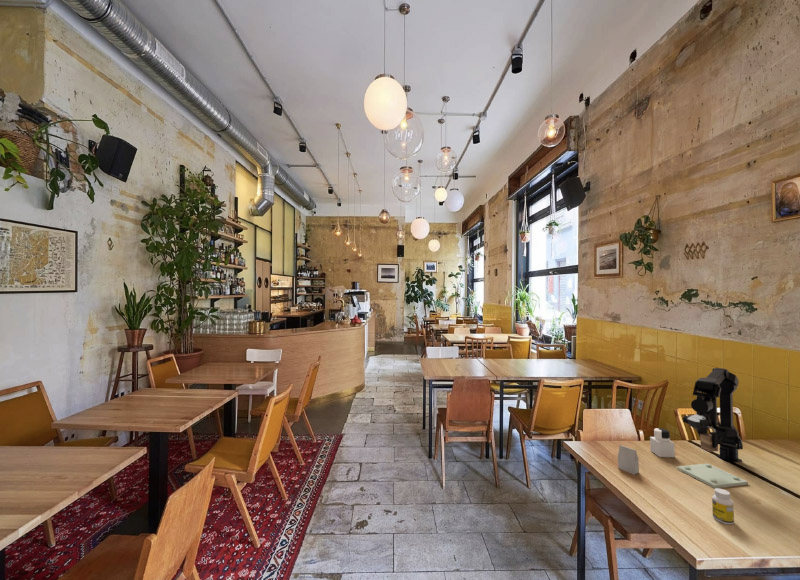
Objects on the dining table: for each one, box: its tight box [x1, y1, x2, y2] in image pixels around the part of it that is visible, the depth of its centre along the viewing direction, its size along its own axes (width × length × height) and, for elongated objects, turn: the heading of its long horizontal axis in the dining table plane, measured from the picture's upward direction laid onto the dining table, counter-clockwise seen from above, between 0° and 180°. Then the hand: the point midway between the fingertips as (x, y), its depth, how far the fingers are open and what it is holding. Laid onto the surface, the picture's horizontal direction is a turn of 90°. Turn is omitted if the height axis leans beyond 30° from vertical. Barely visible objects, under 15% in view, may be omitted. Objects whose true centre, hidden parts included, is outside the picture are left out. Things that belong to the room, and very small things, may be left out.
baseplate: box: [676, 463, 749, 489], centre depth 148 cm, size 16×16×2 cm
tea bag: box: [617, 444, 640, 476], centre depth 154 cm, size 4×7×10 cm, turn 29°
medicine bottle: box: [649, 427, 676, 458], centre depth 170 cm, size 7×7×12 cm
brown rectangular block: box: [699, 432, 719, 453], centre depth 149 cm, size 4×4×6 cm
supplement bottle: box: [711, 488, 735, 525], centre depth 119 cm, size 5×5×10 cm
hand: (709, 445), depth 149 cm, fingers closed on brown rectangular block, 4 cm apart
